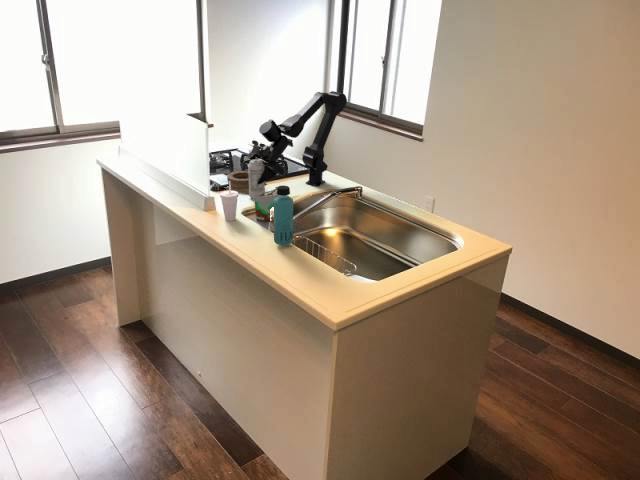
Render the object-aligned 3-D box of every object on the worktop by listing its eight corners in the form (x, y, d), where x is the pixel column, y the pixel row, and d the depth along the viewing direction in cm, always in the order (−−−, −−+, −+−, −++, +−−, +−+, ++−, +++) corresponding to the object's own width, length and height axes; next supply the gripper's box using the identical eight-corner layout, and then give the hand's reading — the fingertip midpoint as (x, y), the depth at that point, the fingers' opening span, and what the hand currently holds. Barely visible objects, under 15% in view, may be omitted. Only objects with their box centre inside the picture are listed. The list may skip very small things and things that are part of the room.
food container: (266, 226, 184) (266, 199, 180) (253, 221, 187) (252, 195, 183) (289, 215, 193) (289, 190, 189) (276, 211, 196) (276, 186, 192)
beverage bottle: (278, 251, 167) (277, 191, 158) (270, 242, 172) (269, 184, 164) (296, 247, 170) (297, 188, 161) (288, 239, 175) (288, 182, 166)
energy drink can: (266, 195, 210) (265, 159, 204) (263, 201, 205) (262, 163, 198) (251, 194, 211) (250, 158, 204) (247, 200, 205) (246, 162, 199)
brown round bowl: (237, 178, 228) (236, 168, 226) (265, 183, 223) (265, 173, 221) (218, 188, 216) (218, 177, 214) (248, 194, 211) (248, 183, 209)
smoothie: (242, 217, 190) (241, 180, 184) (232, 223, 185) (231, 186, 179) (227, 213, 193) (226, 177, 187) (217, 220, 188) (215, 182, 181)
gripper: (250, 131, 206) (227, 163, 204) (278, 142, 193) (254, 176, 192) (267, 148, 214) (245, 179, 212) (295, 159, 202) (272, 192, 200)
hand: (253, 181), depth 204 cm, fingers closed on energy drink can, 6 cm apart
